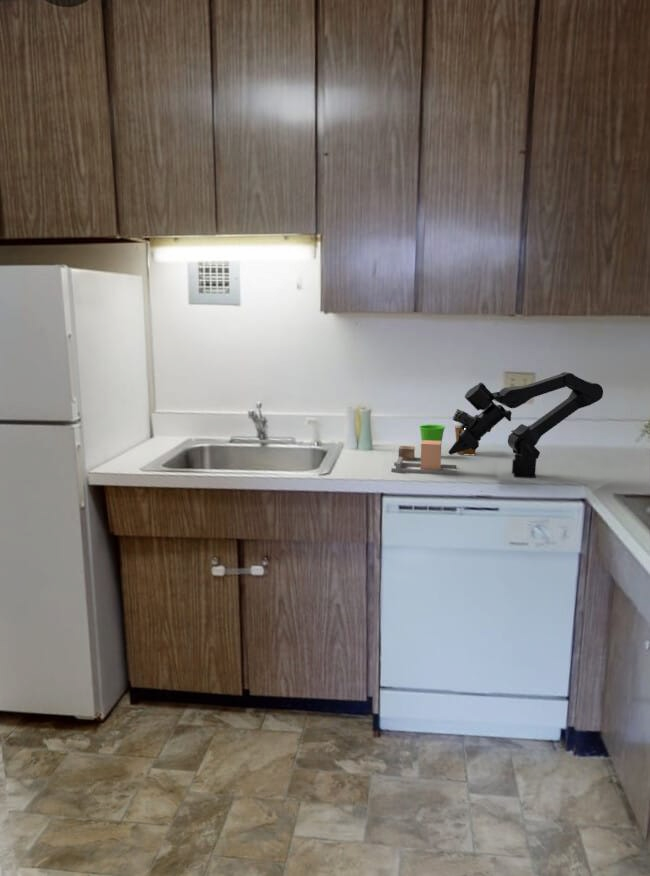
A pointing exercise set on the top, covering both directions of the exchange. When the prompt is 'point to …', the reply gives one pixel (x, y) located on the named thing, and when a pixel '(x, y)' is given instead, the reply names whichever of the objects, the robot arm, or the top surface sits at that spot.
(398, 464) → the track
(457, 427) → the disposable coffee cup
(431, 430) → the cup
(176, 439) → the top surface
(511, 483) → the top surface
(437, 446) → the terracotta block
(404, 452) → the walnut block
